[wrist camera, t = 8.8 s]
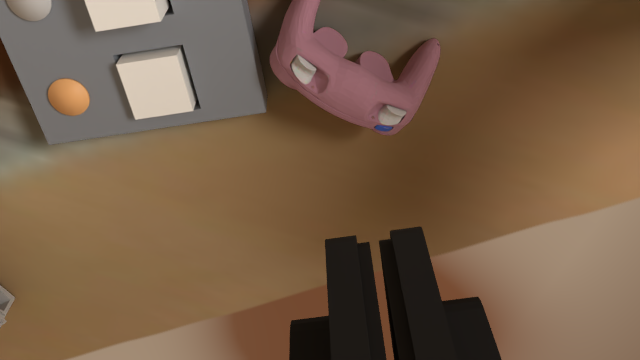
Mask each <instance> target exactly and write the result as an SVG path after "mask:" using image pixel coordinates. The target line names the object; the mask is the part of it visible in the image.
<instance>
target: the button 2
mask: <svg viewBox="0 0 640 360" xmlns="http://www.w3.org/2000/svg"><path fill="white" fill-rule="evenodd" d="M116 67H117V69H118V72H119V75H120V78H121V81H122V84H123V86H124V89H125V92H126V95H127V98H128V101H129V103H130V106H131V109H132V112H133V115H134V118H135V120H137V119H144V118H150V117H157V116H164V115H170V114H177V113H184V112H190V111H193V110H194V107H195V104H196V100H197V93H196V90H195V86H194V82H193V79H192V75H191V72H190V68H189V65H188V61H187V58H186V54H185V51H184V47H183V45H176V46H170V47H164V48H157V49H151V50H144V51H138V52H132V53H125V54H122V56H121V57H120V59H119V61H118V62H117V64H116Z"/></svg>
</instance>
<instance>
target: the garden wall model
mask: <svg viewBox="0 0 640 360" xmlns="http://www.w3.org/2000/svg"><path fill="white" fill-rule="evenodd" d="M14 299H15V297H14V296H13V295H12V294H10V293H9V292H8V291H7V290H6V289H4V288H3V287H2V286H1V285H0V328H1V326H2V325H3V324H5V323H6V320H5V319H4V318H5V316H6V314H7V312H8V310H9V309H10V307H11V305H12V303H13V301H14Z"/></svg>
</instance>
